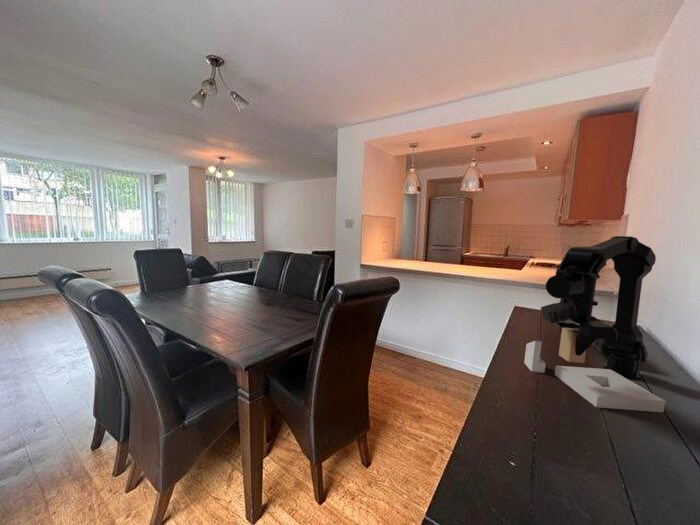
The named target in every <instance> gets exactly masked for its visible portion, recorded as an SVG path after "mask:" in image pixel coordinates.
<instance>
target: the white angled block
mask: <svg viewBox="0 0 700 525" xmlns="http://www.w3.org/2000/svg"><path fill="white" fill-rule="evenodd" d="M542 343H543V342H542V341H540V340H533V341H531V342H528V343H526V346H525V355H524V361H523V362H524V365H526V367H527V369H529V370H530V371H531V372H534V373H541V374H545V373H546V372H545V371H546V362H545V361H544V360H543V359H541V351H542Z"/></svg>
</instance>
